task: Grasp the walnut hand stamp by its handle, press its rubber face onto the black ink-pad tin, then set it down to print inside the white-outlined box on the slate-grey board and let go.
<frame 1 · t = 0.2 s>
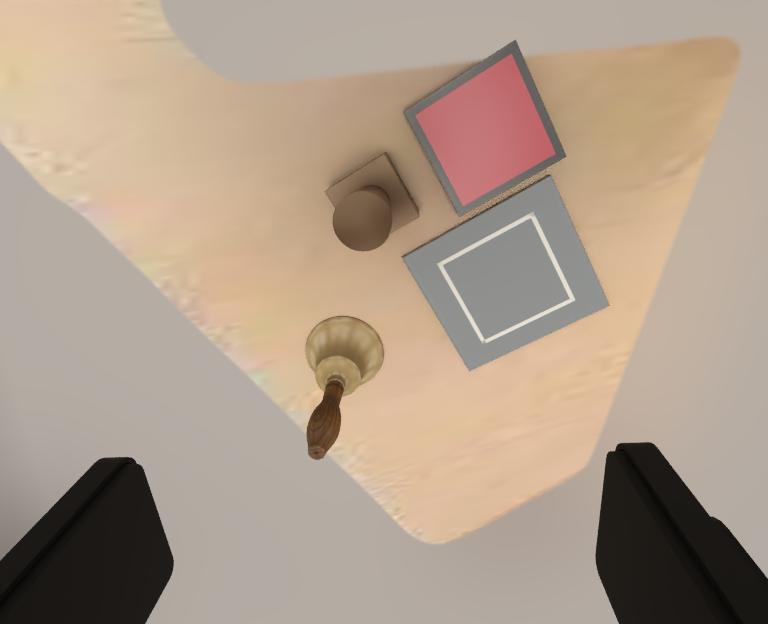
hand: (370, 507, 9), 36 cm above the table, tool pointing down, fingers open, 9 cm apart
ink pad: (482, 134, 40), on the table
board: (505, 280, 45), on the table
stamp: (374, 199, 43), on the table
hand bell: (345, 351, 49), on the table
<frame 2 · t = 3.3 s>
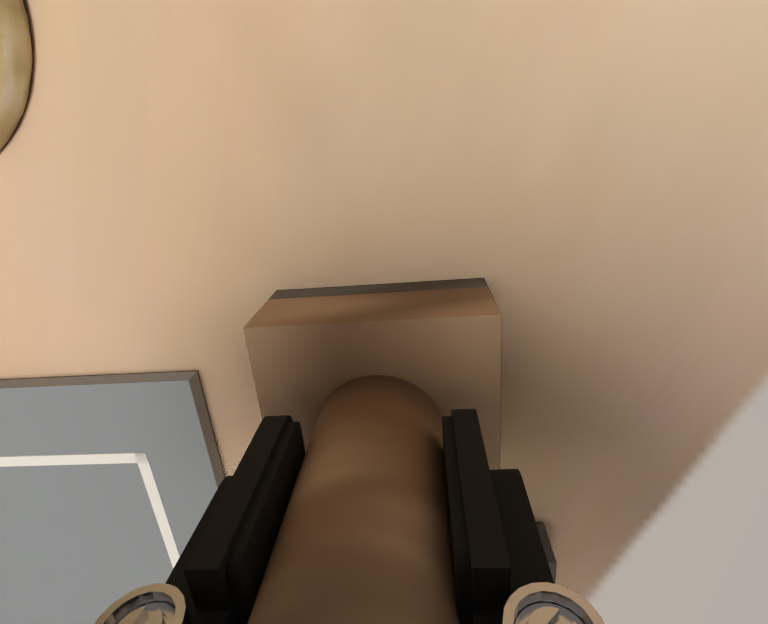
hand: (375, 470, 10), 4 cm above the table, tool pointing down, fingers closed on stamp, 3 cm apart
ink pad: (408, 620, 18), on the table
board: (69, 548, 18), on the table
stamp: (386, 376, 14), on the table, touching gripper
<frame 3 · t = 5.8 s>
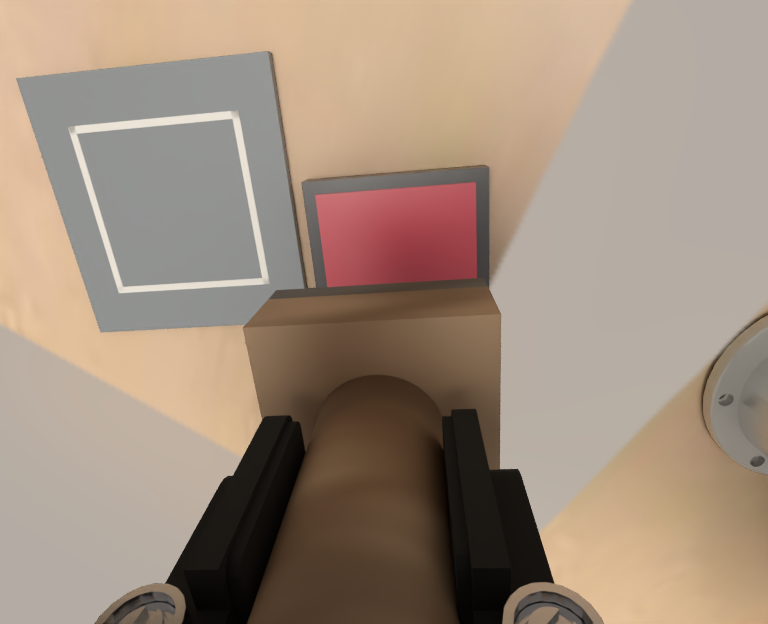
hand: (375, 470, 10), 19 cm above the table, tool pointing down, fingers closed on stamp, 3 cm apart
ink pad: (400, 258, 28), on the table
board: (178, 207, 27), on the table
stamp: (386, 376, 14), point 14 cm above the table, touching gripper
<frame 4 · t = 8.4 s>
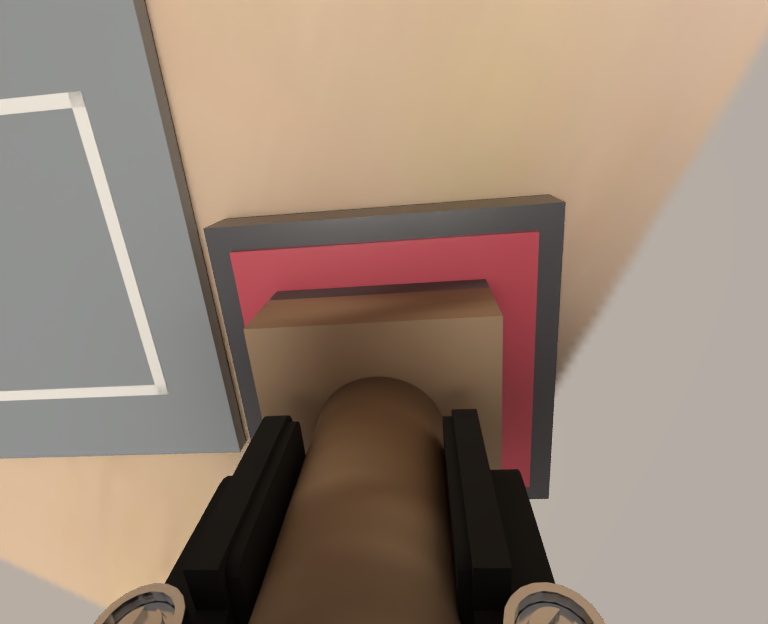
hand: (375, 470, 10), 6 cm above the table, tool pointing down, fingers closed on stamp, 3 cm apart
ink pad: (394, 353, 16), on the table
board: (4, 265, 16), on the table
stamp: (387, 377, 14), point 2 cm above the table, touching gripper, ink pad
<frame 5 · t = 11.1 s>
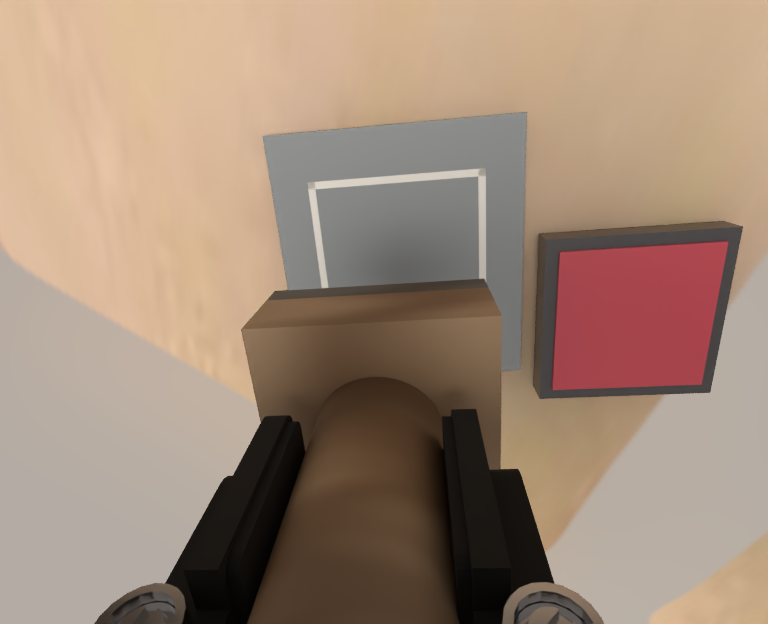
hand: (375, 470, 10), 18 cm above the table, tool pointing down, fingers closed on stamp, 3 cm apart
ink pad: (620, 309, 28), on the table
board: (401, 259, 27), on the table
stamp: (386, 377, 14), point 14 cm above the table, touching gripper
when the fingers open (6 cm above the table, at t = 13.5 s): stamp stays where it is, resting on board.
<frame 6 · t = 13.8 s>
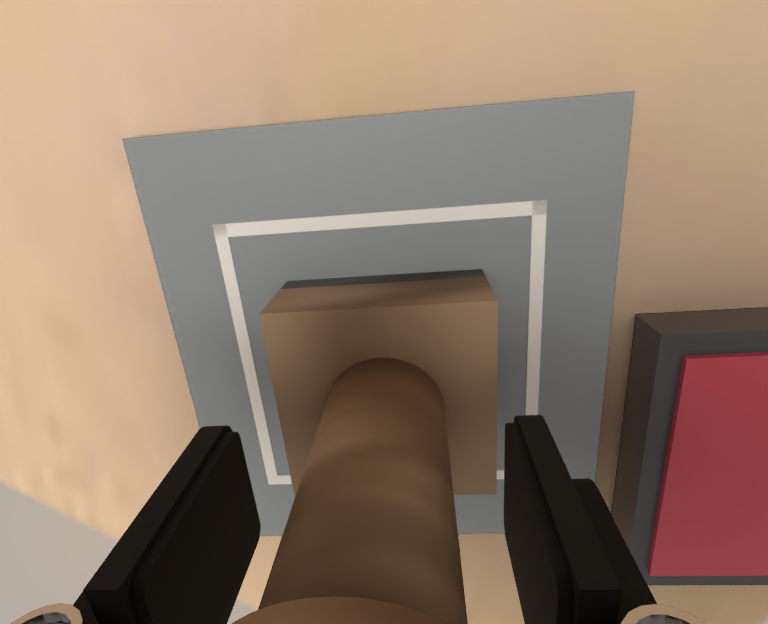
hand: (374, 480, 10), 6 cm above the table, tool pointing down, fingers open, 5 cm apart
board: (388, 354, 16), on the table
stamp: (390, 362, 15), point 1 cm above the table, touching board
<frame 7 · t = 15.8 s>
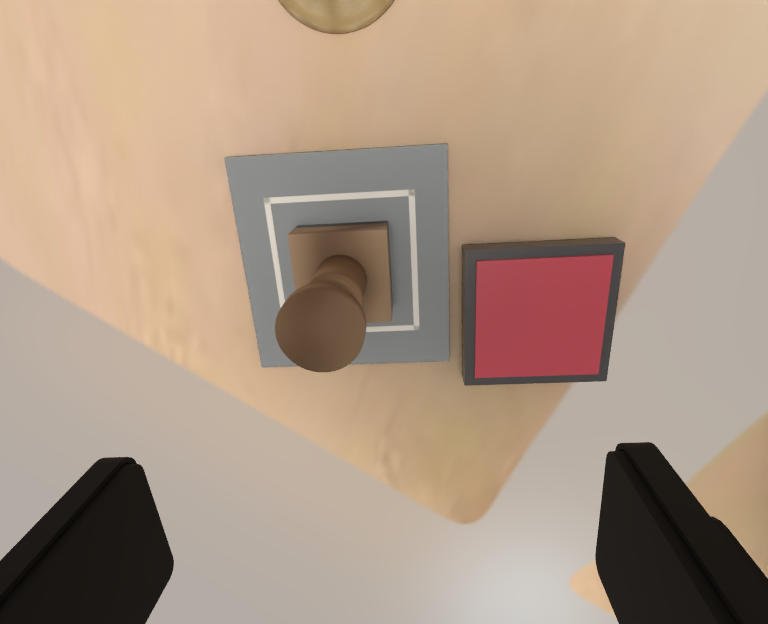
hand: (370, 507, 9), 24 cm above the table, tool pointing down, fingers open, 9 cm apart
ink pad: (533, 310, 33), on the table
board: (346, 264, 32), on the table
stamp: (346, 266, 31), point 1 cm above the table, touching board
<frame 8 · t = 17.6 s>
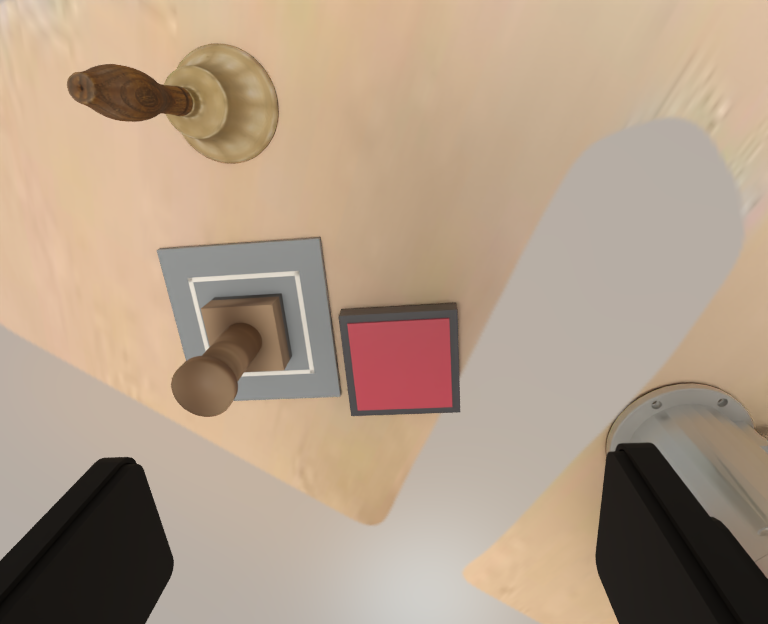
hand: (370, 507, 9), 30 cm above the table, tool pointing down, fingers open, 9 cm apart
ink pad: (401, 357, 42), on the table
board: (255, 324, 42), on the table
stamp: (254, 327, 41), point 1 cm above the table, touching board
hand bell: (226, 106, 35), on the table
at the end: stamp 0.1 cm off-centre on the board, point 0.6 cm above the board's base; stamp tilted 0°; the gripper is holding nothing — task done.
